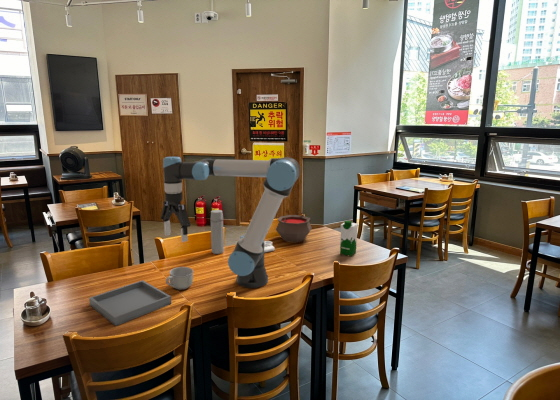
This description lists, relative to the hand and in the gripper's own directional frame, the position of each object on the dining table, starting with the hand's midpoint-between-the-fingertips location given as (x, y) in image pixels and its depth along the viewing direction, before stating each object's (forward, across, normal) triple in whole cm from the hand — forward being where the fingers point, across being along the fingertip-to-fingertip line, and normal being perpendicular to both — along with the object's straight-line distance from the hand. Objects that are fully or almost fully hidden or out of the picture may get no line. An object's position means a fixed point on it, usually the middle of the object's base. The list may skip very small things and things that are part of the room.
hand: (176, 238), depth 170 cm
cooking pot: (+24, +8, -92) cm, 96 cm away
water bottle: (+24, +25, -43) cm, 55 cm away
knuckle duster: (+25, +10, -63) cm, 69 cm away
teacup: (+24, 0, 0) cm, 24 cm away
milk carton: (+24, -33, -93) cm, 102 cm away
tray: (+24, +1, +23) cm, 33 cm away
